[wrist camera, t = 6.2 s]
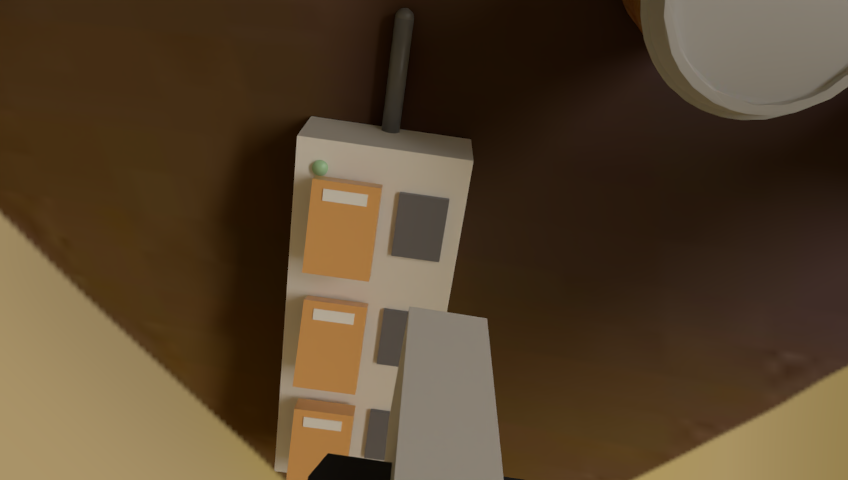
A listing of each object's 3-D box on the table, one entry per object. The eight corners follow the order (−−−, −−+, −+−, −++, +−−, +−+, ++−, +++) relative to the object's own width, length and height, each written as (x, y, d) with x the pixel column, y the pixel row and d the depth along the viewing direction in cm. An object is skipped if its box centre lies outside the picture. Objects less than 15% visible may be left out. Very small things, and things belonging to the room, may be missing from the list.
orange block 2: (307, 295, 39) (303, 299, 37) (368, 303, 39) (366, 308, 37) (296, 379, 39) (292, 386, 37) (356, 387, 39) (354, 395, 38)
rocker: (298, 398, 41) (294, 409, 40) (355, 405, 41) (353, 417, 40) (290, 471, 42) (285, 484, 41) (345, 478, 42) (343, 491, 41)
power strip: (320, -7, 36) (303, 2, 32) (491, 19, 36) (497, 31, 32) (287, 429, 48) (272, 477, 43) (417, 446, 48) (414, 496, 44)
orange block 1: (316, 175, 35) (312, 178, 34) (382, 184, 35) (381, 188, 34) (306, 265, 36) (301, 273, 35) (371, 274, 36) (368, 282, 35)
